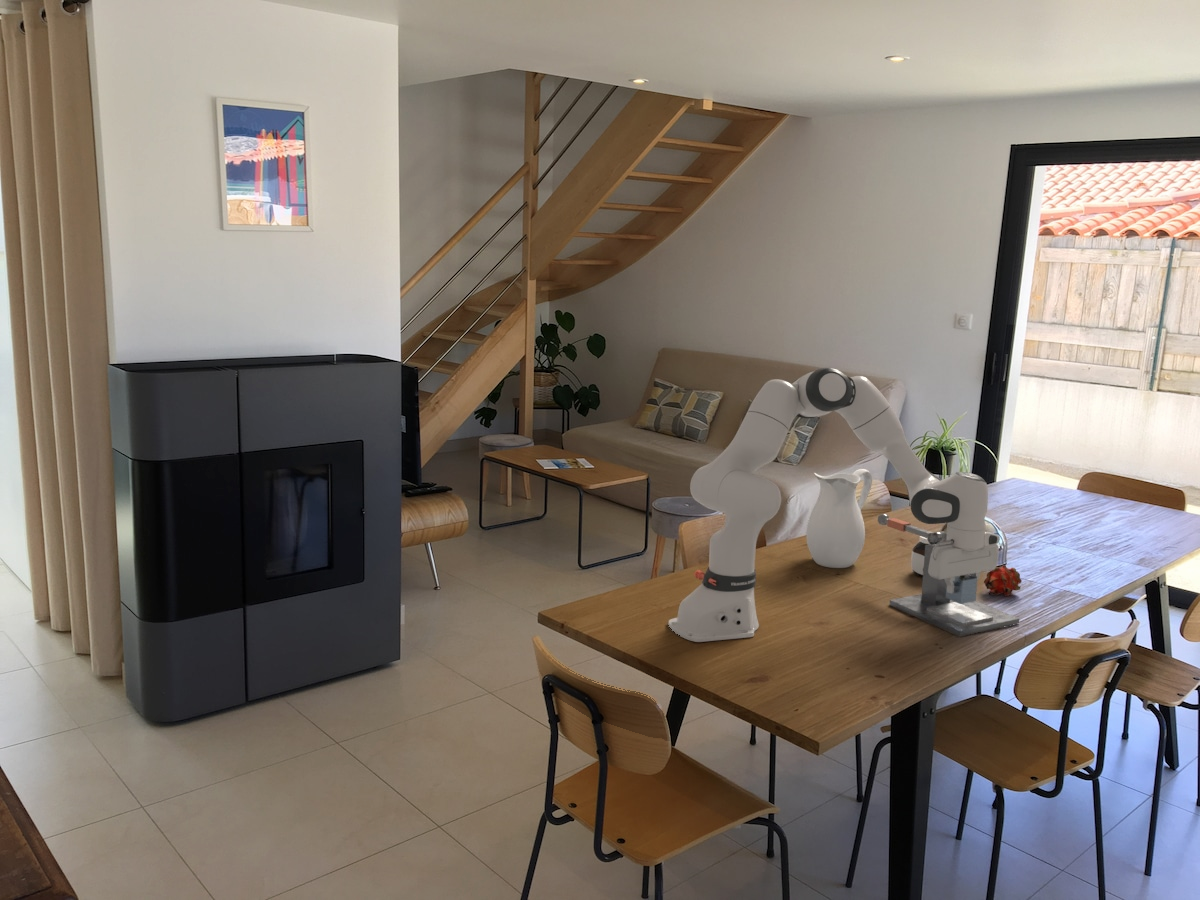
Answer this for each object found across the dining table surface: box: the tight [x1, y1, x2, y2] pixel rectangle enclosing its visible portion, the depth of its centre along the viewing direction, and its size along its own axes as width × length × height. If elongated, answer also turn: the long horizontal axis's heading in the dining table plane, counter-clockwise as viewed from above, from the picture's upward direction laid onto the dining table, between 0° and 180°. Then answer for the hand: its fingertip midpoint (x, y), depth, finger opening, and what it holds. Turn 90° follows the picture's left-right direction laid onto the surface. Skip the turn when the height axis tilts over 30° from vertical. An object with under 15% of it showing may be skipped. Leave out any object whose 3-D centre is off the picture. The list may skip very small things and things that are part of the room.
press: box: [889, 544, 1020, 638], centre depth 242 cm, size 20×24×16 cm
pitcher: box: [806, 468, 873, 569], centre depth 285 cm, size 24×17×28 cm
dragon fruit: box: [983, 564, 1022, 597], centre depth 259 cm, size 8×8×12 cm
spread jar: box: [910, 536, 930, 579], centre depth 274 cm, size 12×11×12 cm
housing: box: [946, 574, 979, 604], centre depth 237 cm, size 5×5×8 cm
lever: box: [877, 513, 947, 545], centre depth 255 cm, size 4×23×3 cm, turn 26°
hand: (961, 590), depth 238 cm, fingers closed on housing, 5 cm apart
